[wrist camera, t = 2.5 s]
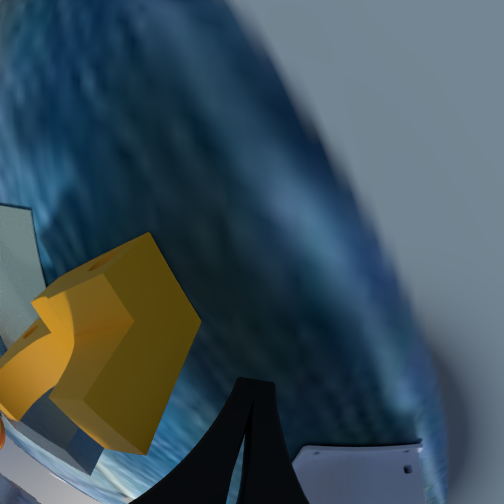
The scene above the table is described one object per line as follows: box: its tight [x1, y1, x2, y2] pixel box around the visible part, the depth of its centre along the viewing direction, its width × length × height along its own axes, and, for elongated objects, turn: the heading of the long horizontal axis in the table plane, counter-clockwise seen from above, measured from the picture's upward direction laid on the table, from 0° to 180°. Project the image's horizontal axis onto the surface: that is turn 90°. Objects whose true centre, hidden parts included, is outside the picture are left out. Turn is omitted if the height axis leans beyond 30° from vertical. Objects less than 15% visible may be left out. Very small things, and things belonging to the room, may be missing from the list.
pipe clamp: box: [0, 232, 202, 455], centre depth 10 cm, size 12×4×6 cm, turn 113°
